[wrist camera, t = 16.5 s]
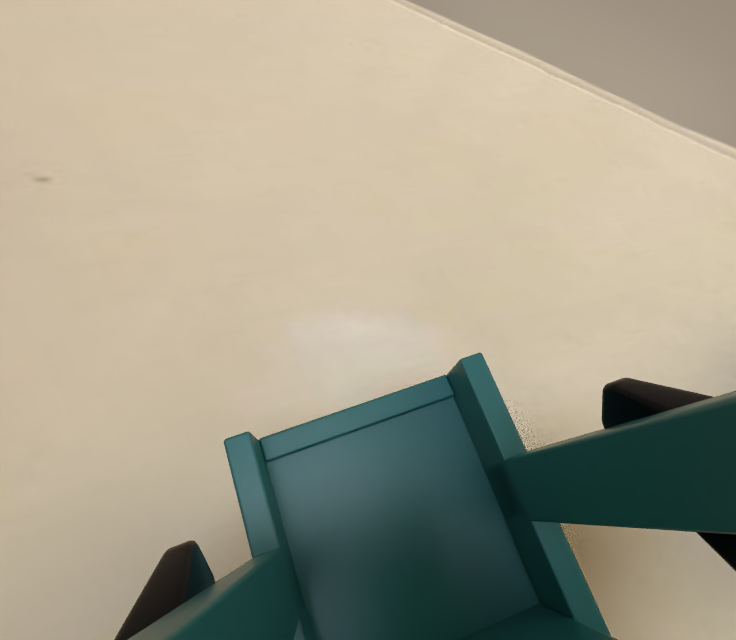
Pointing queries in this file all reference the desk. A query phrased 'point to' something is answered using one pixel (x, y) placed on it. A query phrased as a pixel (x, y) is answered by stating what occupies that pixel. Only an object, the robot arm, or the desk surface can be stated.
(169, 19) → the desk surface
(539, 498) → the tray with tall posts
